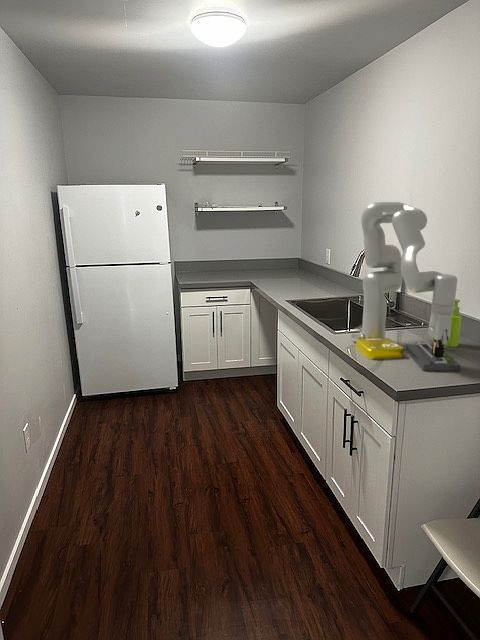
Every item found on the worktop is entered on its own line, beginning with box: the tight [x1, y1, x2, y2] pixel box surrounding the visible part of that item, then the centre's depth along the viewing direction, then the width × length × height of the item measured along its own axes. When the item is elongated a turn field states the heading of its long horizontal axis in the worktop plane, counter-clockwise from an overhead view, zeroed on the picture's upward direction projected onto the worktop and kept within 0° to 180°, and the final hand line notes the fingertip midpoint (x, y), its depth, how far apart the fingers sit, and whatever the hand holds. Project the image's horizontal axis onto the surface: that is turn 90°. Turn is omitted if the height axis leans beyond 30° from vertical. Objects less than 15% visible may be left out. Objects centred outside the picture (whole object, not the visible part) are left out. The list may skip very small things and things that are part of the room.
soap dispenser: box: [445, 298, 463, 348], centre depth 194 cm, size 6×7×20 cm
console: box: [404, 342, 461, 373], centre depth 177 cm, size 13×24×4 cm, turn 176°
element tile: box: [355, 337, 404, 360], centre depth 186 cm, size 15×15×5 cm
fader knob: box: [433, 342, 441, 360], centre depth 170 cm, size 3×4×6 cm
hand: (437, 355), depth 171 cm, fingers closed on fader knob, 2 cm apart
